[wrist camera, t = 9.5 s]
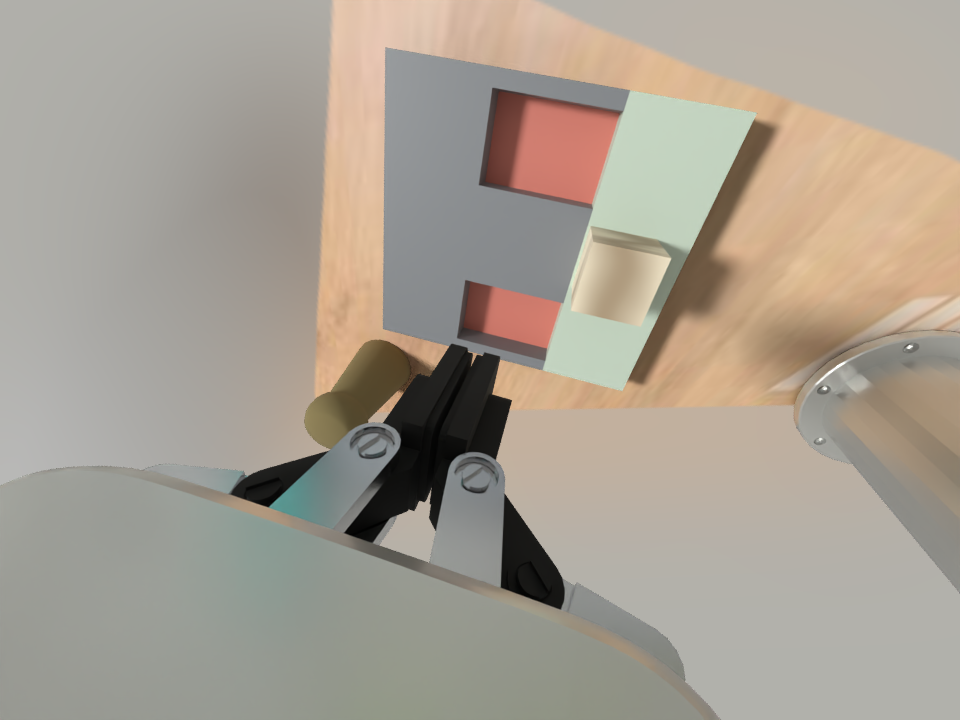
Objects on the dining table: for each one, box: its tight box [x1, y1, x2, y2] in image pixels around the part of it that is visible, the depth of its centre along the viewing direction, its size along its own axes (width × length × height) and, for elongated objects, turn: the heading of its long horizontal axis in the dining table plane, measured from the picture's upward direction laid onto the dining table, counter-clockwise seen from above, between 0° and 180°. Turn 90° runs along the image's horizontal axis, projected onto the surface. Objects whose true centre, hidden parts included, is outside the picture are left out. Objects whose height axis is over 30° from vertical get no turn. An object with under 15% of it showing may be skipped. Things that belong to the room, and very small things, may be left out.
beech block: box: [571, 226, 671, 327], centre depth 24 cm, size 4×4×4 cm
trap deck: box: [383, 47, 757, 391], centre depth 28 cm, size 22×20×2 cm
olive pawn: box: [304, 340, 411, 449], centre depth 34 cm, size 6×6×11 cm
